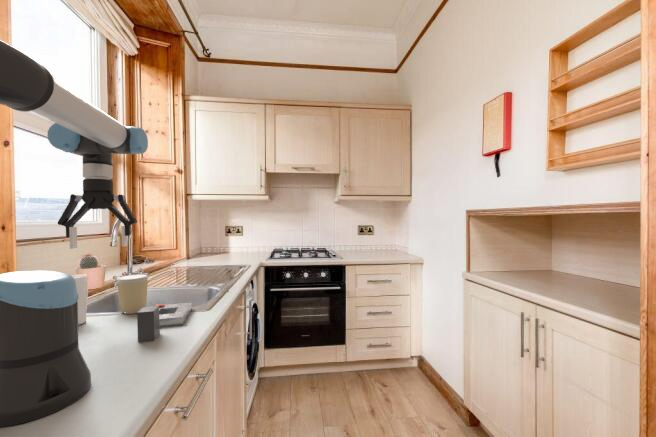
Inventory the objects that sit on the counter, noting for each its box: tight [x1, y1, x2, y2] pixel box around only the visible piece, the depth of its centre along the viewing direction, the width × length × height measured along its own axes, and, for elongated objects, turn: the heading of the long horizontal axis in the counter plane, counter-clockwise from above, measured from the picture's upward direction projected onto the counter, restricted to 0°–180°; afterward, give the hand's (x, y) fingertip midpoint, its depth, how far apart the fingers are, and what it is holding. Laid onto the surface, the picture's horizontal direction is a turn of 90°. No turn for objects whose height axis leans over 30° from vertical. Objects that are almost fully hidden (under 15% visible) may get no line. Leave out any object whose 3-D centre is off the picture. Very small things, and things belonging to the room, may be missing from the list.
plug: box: [136, 305, 161, 343], centre depth 84 cm, size 5×4×8 cm
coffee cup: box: [116, 274, 149, 315], centre depth 109 cm, size 9×9×12 cm
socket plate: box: [153, 302, 193, 328], centre depth 100 cm, size 16×12×3 cm
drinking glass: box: [70, 273, 89, 326], centre depth 96 cm, size 7×7×15 cm
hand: (99, 247), depth 96 cm, fingers open, 13 cm apart
